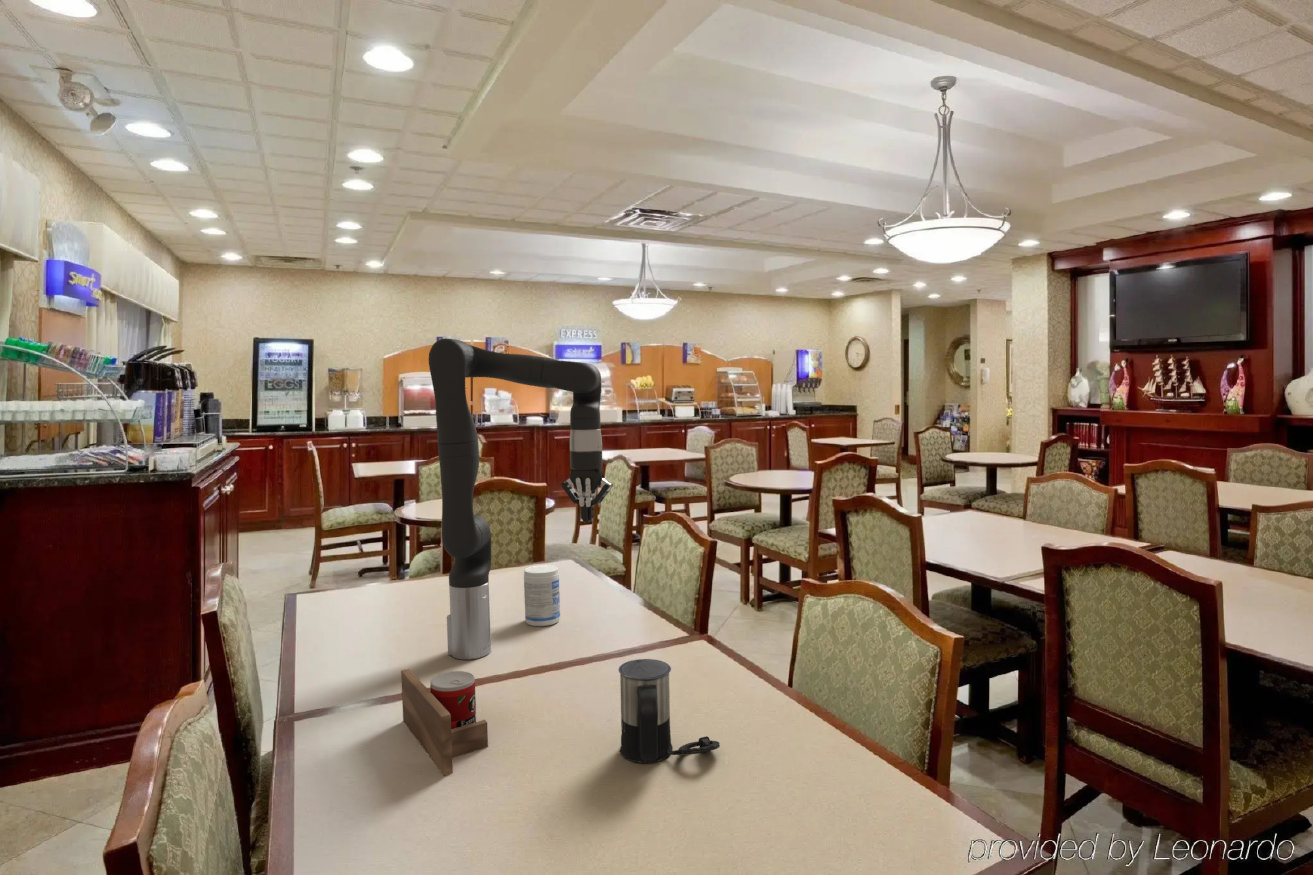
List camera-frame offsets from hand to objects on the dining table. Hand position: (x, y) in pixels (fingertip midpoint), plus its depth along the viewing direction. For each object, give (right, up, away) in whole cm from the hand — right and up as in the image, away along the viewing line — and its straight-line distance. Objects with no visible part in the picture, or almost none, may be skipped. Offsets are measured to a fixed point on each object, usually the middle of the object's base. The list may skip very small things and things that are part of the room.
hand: (587, 521), depth 167 cm
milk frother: (+18, -35, -44) cm, 59 cm away
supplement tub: (-15, -31, +27) cm, 43 cm away
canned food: (-21, -35, -38) cm, 55 cm away
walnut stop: (-22, -35, -38) cm, 56 cm away
